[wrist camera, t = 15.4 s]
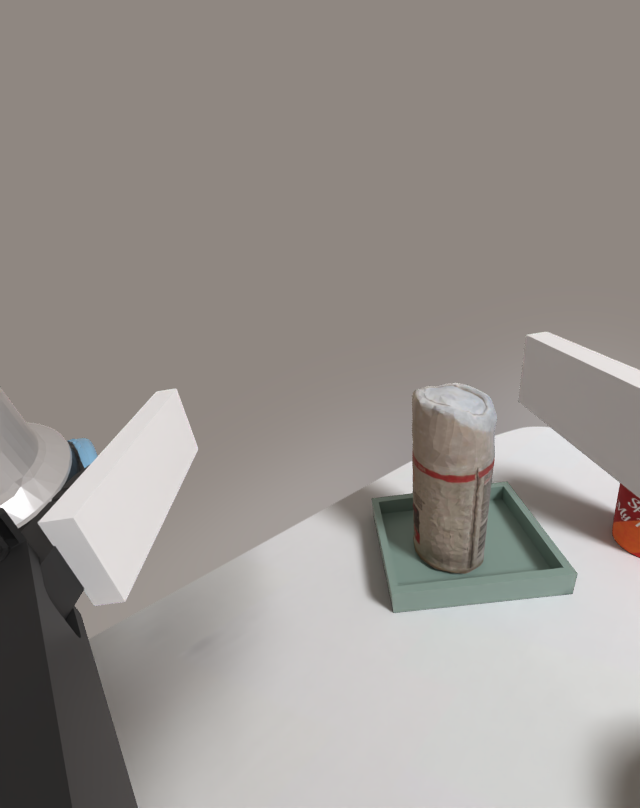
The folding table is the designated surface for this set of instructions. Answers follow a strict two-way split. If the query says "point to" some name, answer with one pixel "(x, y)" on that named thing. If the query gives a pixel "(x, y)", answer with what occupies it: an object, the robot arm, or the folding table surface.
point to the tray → (492, 581)
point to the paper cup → (627, 521)
